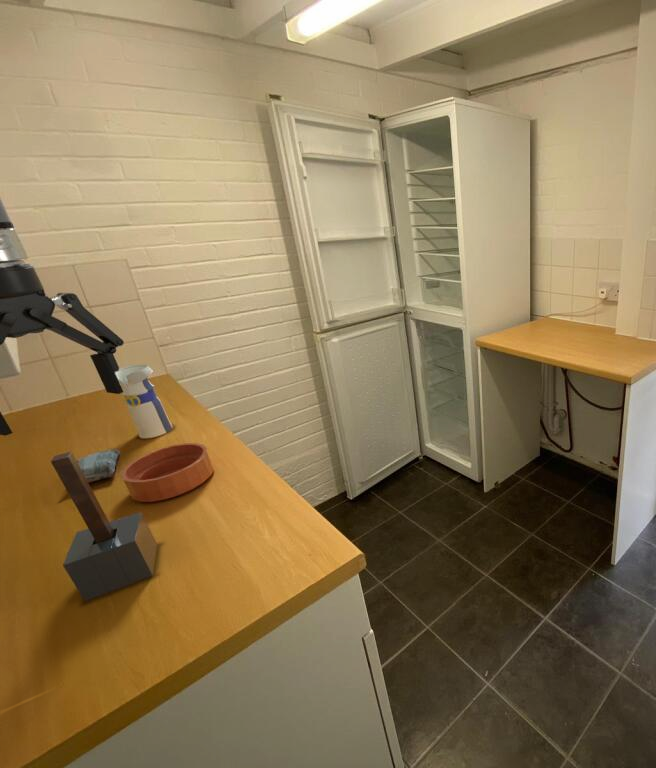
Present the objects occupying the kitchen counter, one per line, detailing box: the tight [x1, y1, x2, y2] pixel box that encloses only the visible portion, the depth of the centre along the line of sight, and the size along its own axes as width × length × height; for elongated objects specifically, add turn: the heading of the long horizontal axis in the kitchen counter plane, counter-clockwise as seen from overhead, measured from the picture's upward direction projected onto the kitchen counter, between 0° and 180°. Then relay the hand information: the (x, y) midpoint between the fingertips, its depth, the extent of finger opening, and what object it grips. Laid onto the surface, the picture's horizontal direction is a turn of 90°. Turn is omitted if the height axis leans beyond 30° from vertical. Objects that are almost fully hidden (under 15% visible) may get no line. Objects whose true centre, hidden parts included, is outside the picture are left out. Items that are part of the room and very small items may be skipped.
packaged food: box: [76, 449, 121, 483], centre depth 100 cm, size 9×12×5 cm
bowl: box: [120, 442, 215, 503], centre depth 96 cm, size 16×16×6 cm
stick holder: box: [62, 511, 158, 602], centre depth 72 cm, size 9×9×8 cm
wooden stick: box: [50, 451, 116, 544], centre depth 69 cm, size 2×2×24 cm
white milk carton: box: [115, 364, 173, 439], centre depth 115 cm, size 8×9×25 cm
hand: (64, 411), depth 63 cm, fingers open, 13 cm apart
